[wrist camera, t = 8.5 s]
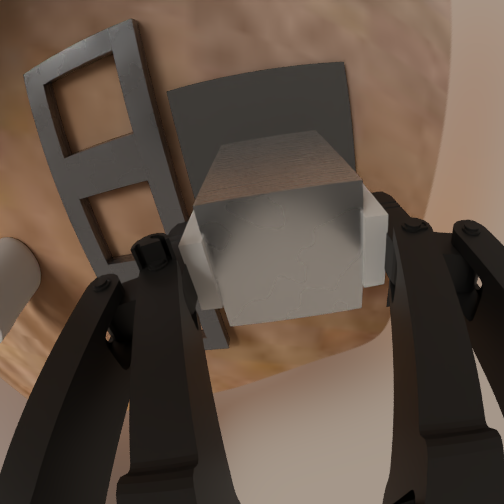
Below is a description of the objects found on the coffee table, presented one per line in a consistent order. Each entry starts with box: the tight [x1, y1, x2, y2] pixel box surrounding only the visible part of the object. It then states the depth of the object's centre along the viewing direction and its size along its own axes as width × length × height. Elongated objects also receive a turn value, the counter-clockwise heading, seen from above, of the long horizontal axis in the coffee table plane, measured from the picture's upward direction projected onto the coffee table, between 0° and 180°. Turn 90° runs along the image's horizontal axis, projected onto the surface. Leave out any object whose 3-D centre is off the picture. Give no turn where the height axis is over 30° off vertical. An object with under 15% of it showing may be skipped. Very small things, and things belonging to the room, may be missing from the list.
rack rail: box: [23, 19, 230, 350], centre depth 24 cm, size 30×10×1 cm, turn 11°
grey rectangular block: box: [193, 130, 364, 326], centre depth 13 cm, size 5×5×8 cm
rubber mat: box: [167, 62, 356, 200], centre depth 21 cm, size 12×12×1 cm
